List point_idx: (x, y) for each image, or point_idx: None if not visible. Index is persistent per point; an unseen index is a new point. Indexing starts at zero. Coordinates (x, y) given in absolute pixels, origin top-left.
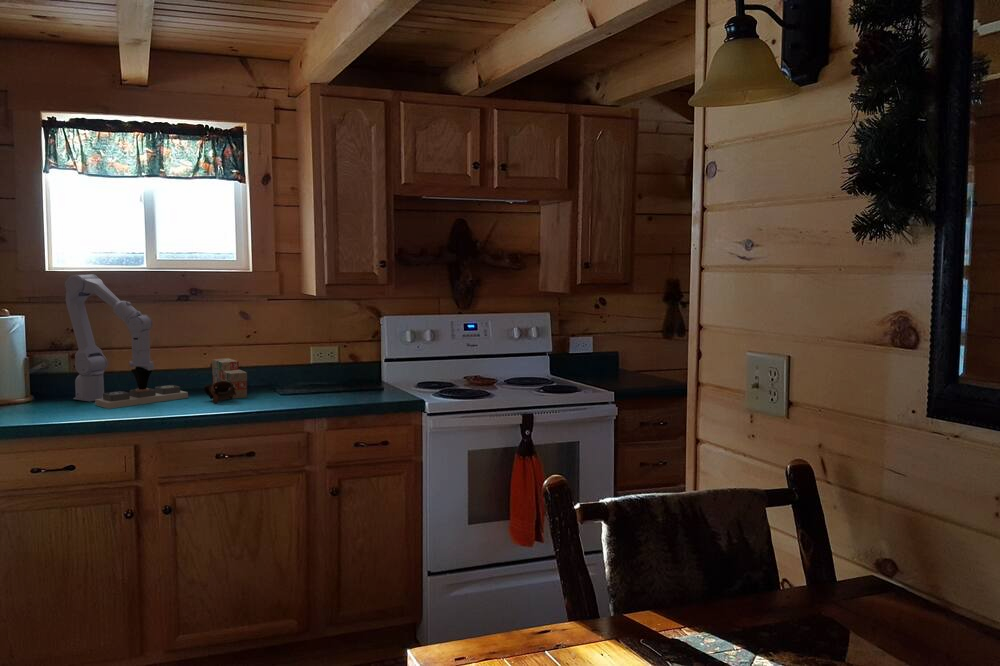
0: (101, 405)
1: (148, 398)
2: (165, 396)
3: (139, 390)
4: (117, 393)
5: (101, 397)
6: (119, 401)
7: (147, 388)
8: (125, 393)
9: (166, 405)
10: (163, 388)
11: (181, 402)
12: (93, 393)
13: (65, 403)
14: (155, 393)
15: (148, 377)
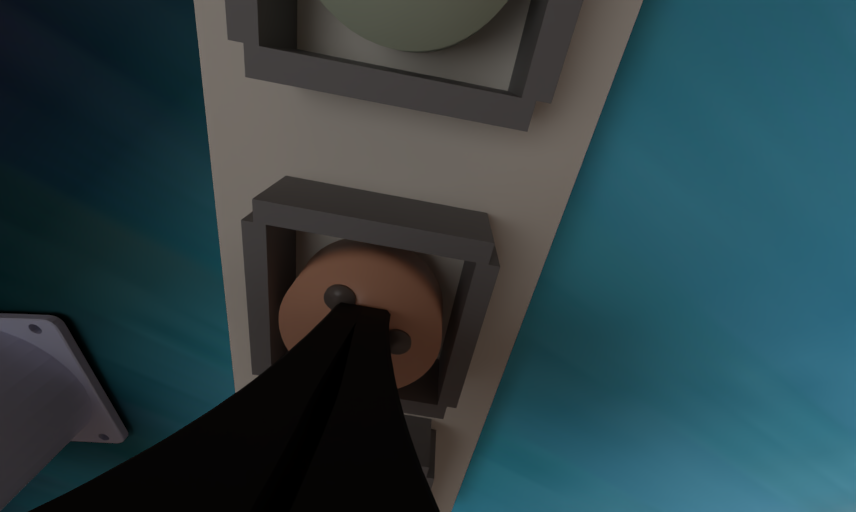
0: None
1: (521, 316)
2: (586, 135)
3: (403, 383)
4: None
5: (66, 376)
6: (458, 488)
7: (371, 281)
8: None
9: (749, 276)
10: (449, 45)
11: (825, 84)
12: (52, 453)
13: None
14: (488, 222)
15: (409, 446)
